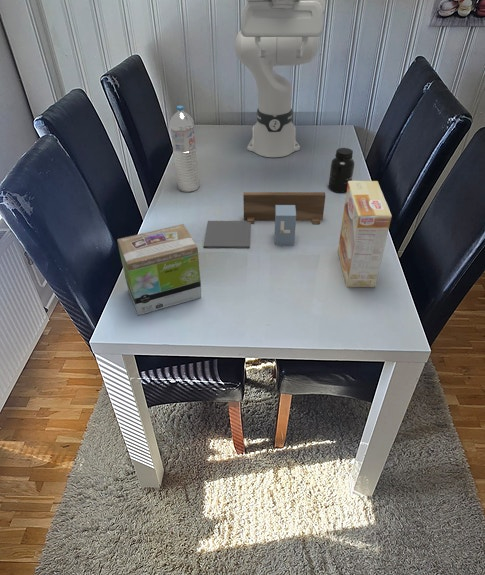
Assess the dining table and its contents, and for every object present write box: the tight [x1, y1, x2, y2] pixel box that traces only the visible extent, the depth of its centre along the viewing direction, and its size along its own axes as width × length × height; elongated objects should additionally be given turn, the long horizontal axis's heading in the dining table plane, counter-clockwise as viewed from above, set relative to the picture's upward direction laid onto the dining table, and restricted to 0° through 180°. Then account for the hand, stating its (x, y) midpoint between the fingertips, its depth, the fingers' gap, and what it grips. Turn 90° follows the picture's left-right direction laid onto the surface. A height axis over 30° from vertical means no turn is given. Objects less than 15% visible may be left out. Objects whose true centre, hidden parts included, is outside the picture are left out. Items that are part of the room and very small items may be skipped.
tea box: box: [117, 223, 202, 316], centre depth 98 cm, size 15×10×15 cm, turn 114°
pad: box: [203, 220, 252, 249], centre depth 120 cm, size 12×12×1 cm
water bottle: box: [169, 104, 200, 193], centre depth 132 cm, size 7×7×25 cm
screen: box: [242, 191, 327, 225], centre depth 123 cm, size 5×22×8 cm, turn 88°
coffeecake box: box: [337, 180, 393, 288], centre depth 102 cm, size 15×7×20 cm, turn 178°
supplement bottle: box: [328, 147, 355, 194], centre depth 134 cm, size 7×7×12 cm
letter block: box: [274, 205, 297, 246], centre depth 115 cm, size 5×5×9 cm
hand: (280, 57), depth 113 cm, fingers open, 8 cm apart
